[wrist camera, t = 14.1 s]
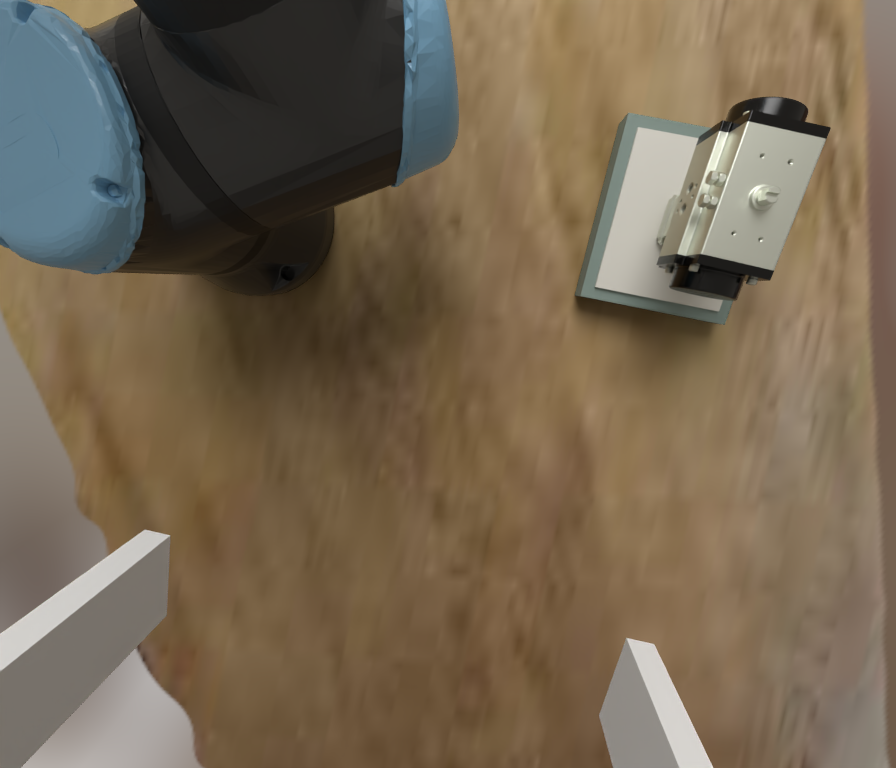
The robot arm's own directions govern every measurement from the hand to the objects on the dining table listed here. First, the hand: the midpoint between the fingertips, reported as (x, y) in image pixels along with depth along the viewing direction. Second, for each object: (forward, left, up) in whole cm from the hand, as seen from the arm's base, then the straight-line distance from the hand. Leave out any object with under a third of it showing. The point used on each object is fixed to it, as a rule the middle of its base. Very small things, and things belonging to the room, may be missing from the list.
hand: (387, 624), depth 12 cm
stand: (+16, +18, -33) cm, 41 cm away
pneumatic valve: (+16, +18, -30) cm, 38 cm away
